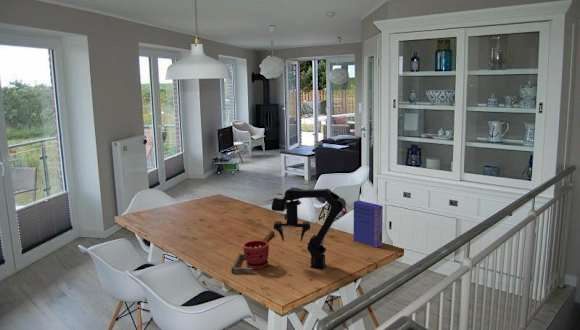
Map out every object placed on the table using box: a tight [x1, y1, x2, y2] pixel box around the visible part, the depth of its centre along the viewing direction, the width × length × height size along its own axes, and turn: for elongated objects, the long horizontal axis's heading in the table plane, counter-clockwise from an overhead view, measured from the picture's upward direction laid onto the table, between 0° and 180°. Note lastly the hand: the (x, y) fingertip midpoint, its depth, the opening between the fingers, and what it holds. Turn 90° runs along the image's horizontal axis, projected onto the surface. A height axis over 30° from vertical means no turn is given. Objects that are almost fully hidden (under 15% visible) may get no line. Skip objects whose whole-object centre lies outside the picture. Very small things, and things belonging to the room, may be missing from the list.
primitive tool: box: [260, 230, 276, 243], centre depth 282 cm, size 19×6×4 cm, turn 164°
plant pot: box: [242, 240, 270, 270], centre depth 242 cm, size 13×13×12 cm
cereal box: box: [353, 200, 384, 249], centre depth 271 cm, size 17×5×24 cm, turn 41°
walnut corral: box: [231, 253, 254, 275], centre depth 243 cm, size 11×20×2 cm, turn 176°
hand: (292, 241), depth 243 cm, fingers open, 9 cm apart
